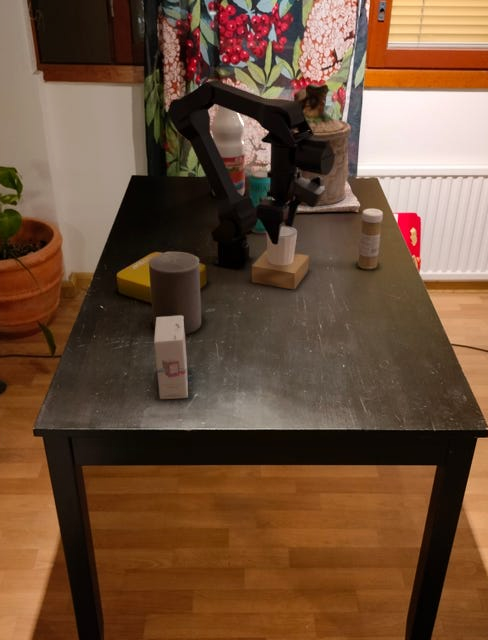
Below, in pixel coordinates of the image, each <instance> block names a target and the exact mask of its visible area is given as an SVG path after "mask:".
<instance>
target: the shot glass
mask: <svg viewBox="0 0 488 640" xmlns="http://www.w3.org/2000/svg"><path fill="white" fill-rule="evenodd" d="M265 234H266V235H265V236H266V246H267V247H266V250H267V249H268V261H269V262H270V263H271V264H273V265H278V266H285V265H289V264H291V263H292V262H293V259H294V253H296V252H295V251H296V244H297V238H298V237H297V236H298V230H297V229H296V228H295V227H293V226H292V227H289V226H286V225H281V230H280V236H279V241H278V244H277V245H275V244H272V242H271V240H270V238H269V235H268V233H267V231H266V233H265Z"/></svg>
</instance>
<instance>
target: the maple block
mask: <svg viewBox="0 0 488 640" xmlns="http://www.w3.org/2000/svg"><path fill="white" fill-rule="evenodd" d="M309 256H310V255H308V254H303V253H302V254H301V253H296V252H294V259H293V262H292V263H291V264H289V265H285V266H278V265H273V264H271V263H270V262H269V261H268V249H267V248H266V250H265V251H264V252H263V253H262V254H261V255H260V256H259V257H258V258H257V260H256V261H254V263H253V264H252V265H251V283H257V284H261V285H266V286H270V287H271V286H273V287H277V288H281V289H282V288H283V289H288V290H295V289H296V288H297V287H298V286H299V284H300V282H301V281H302V280H303V279H304V277H305V276H306V275H307V273H308V272H309V258H310V257H309Z"/></svg>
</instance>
